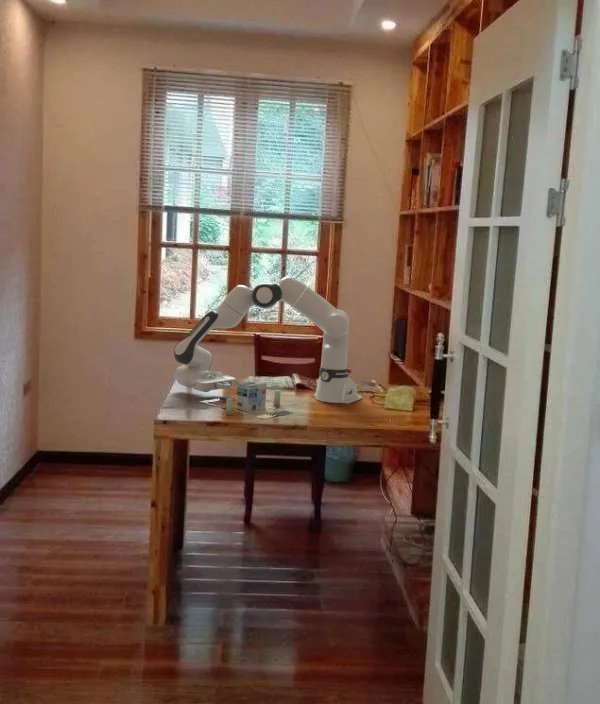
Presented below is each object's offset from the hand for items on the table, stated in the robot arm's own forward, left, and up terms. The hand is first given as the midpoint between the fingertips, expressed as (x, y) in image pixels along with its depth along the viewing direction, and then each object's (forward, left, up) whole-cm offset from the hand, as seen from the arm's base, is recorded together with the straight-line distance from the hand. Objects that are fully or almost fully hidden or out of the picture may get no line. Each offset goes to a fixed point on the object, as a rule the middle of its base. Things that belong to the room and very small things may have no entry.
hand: (228, 387), depth 326 cm
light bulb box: (0, +13, -7) cm, 15 cm away
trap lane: (0, +9, -7) cm, 12 cm away
